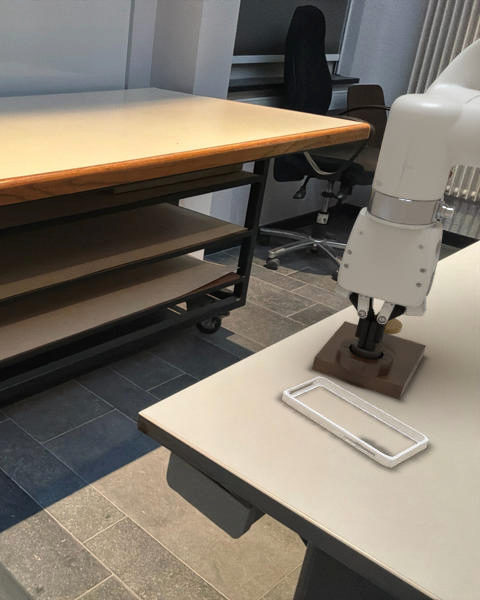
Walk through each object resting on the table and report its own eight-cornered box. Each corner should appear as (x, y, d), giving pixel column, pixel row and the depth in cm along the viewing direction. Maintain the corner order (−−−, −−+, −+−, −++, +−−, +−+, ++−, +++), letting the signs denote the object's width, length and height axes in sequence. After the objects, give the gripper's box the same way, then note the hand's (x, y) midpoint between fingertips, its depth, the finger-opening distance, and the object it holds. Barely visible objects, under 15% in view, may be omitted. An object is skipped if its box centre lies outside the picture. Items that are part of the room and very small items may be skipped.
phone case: (428, 448, 75) (318, 383, 86) (431, 438, 75) (320, 374, 86) (388, 470, 71) (279, 400, 83) (391, 460, 71) (281, 391, 82)
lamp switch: (382, 357, 87) (386, 343, 86) (374, 369, 84) (378, 355, 84) (354, 348, 89) (357, 335, 88) (345, 359, 86) (349, 345, 85)
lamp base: (422, 359, 93) (429, 333, 91) (397, 404, 83) (405, 376, 81) (341, 334, 99) (347, 309, 97) (309, 373, 88) (315, 347, 87)
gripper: (479, 213, 77) (435, 352, 85) (346, 186, 84) (318, 316, 92) (468, 230, 71) (422, 377, 79) (327, 200, 79) (299, 337, 87)
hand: (366, 344), depth 86 cm, fingers closed
